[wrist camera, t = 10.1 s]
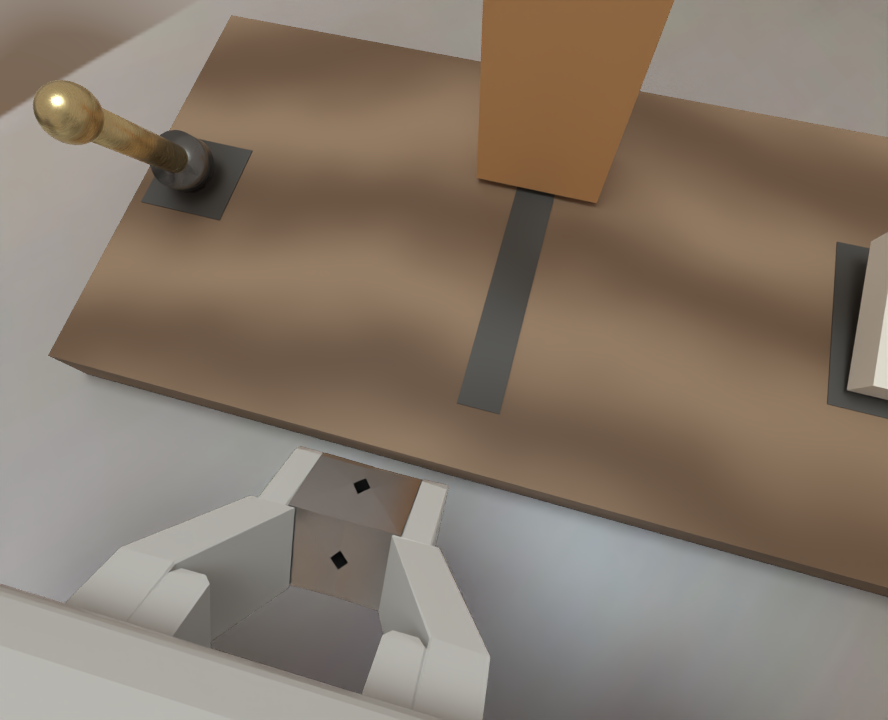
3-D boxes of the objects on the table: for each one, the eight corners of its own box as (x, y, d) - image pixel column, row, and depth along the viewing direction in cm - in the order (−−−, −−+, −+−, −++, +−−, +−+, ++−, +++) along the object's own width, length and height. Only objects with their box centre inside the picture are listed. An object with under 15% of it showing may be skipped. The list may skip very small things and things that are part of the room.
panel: (912, 603, 17) (968, 610, 15) (86, 373, 21) (47, 354, 19) (915, 184, 22) (958, 149, 20) (248, 55, 26) (231, 14, 24)
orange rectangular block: (596, 203, 20) (737, -166, 10) (476, 178, 20) (490, -198, 10) (608, 149, 20) (750, -246, 10) (492, 126, 21) (520, -271, 11)
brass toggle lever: (208, 197, 20) (73, 149, 14) (159, 186, 21) (5, 134, 14) (218, 143, 20) (85, 69, 14) (168, 132, 20) (16, 55, 14)
